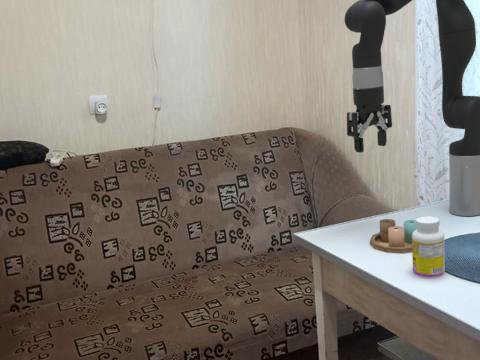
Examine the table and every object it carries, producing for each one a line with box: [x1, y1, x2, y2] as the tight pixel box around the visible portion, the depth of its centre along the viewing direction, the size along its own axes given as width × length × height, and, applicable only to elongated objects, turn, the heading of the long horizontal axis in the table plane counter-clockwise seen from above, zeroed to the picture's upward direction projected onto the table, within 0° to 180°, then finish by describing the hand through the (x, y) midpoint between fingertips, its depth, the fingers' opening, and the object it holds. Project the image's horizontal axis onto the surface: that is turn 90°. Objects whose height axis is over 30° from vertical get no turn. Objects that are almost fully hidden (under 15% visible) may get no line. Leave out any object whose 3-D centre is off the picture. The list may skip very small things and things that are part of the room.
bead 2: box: [388, 225, 405, 248], centre depth 143 cm, size 4×4×5 cm
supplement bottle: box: [411, 216, 446, 279], centre depth 126 cm, size 7×7×13 cm
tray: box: [369, 231, 412, 254], centre depth 146 cm, size 14×14×2 cm
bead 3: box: [403, 219, 418, 244], centre depth 146 cm, size 4×4×5 cm
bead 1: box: [379, 218, 396, 243], centre depth 149 cm, size 4×4×5 cm
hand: (370, 148), depth 150 cm, fingers open, 8 cm apart
